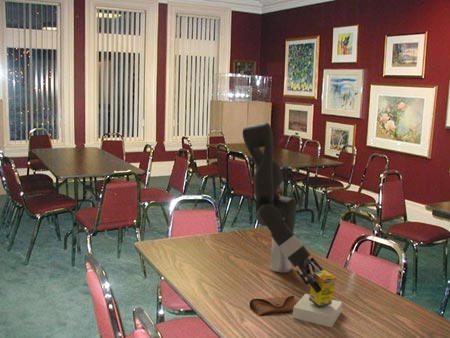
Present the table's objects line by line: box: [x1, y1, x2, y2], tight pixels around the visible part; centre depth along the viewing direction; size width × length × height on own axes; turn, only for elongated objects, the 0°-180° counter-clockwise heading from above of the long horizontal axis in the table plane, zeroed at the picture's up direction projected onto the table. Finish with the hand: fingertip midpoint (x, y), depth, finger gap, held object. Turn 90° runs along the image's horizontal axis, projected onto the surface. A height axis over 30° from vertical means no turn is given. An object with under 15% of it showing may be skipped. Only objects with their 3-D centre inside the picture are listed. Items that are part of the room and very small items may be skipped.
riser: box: [292, 293, 343, 328], centre depth 184 cm, size 14×14×4 cm
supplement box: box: [309, 269, 337, 307], centre depth 182 cm, size 6×6×11 cm
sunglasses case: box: [249, 295, 298, 317], centre depth 187 cm, size 18×7×7 cm, turn 108°
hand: (322, 287), depth 182 cm, fingers closed on supplement box, 8 cm apart
